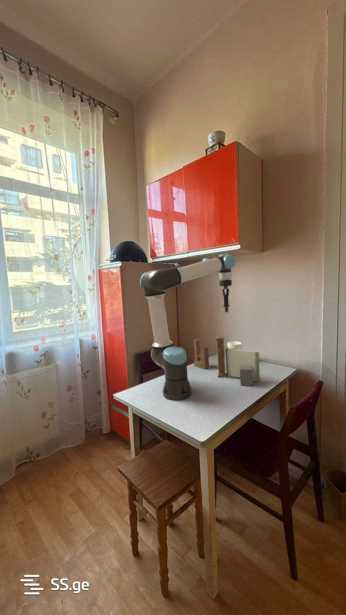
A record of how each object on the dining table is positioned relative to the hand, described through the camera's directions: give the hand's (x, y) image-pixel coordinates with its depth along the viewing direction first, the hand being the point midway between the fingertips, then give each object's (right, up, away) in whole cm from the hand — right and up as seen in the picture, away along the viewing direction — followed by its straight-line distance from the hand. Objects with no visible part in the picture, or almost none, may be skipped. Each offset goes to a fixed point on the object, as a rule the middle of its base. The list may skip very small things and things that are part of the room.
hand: (226, 316), depth 157 cm
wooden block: (-15, -34, +9) cm, 38 cm away
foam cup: (+9, -32, +15) cm, 36 cm away
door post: (-5, -35, -9) cm, 36 cm away
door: (+5, -34, -16) cm, 38 cm away
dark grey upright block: (+6, -36, -22) cm, 42 cm away
